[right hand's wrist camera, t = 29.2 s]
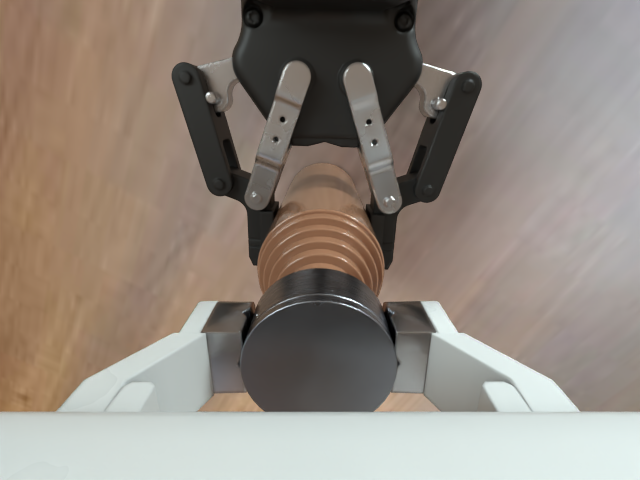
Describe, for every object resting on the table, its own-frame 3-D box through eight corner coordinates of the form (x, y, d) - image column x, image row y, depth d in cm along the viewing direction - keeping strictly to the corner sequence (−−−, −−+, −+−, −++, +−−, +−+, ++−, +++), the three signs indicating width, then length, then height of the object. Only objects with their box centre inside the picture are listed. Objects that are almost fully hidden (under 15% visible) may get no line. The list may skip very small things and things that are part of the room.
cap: (241, 275, 9) (223, 311, 8) (380, 259, 9) (393, 291, 8) (266, 385, 11) (256, 436, 9) (389, 373, 10) (402, 422, 9)
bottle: (324, 147, 24) (325, 220, 8) (370, 199, 25) (453, 355, 9) (274, 195, 25) (184, 343, 9) (320, 242, 26) (313, 448, 10)
